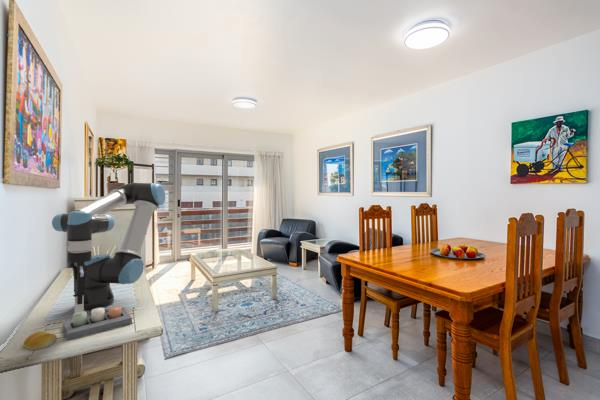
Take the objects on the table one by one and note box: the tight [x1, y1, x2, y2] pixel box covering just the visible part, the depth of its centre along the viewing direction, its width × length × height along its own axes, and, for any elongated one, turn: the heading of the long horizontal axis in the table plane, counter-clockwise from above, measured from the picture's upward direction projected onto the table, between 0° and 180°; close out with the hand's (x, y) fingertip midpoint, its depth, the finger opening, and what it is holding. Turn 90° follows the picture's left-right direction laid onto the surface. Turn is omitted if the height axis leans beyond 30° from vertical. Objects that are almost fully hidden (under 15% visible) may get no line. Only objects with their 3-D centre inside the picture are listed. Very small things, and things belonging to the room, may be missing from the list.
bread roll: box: [22, 330, 57, 351], centre depth 106 cm, size 8×9×4 cm
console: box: [62, 307, 133, 341], centre depth 121 cm, size 14×21×2 cm, turn 134°
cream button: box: [90, 307, 106, 322], centre depth 121 cm, size 4×4×4 cm
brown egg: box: [108, 306, 122, 319], centre depth 125 cm, size 4×4×4 cm
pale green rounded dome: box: [72, 310, 88, 326], centre depth 117 cm, size 4×4×4 cm
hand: (79, 311), depth 116 cm, fingers closed
